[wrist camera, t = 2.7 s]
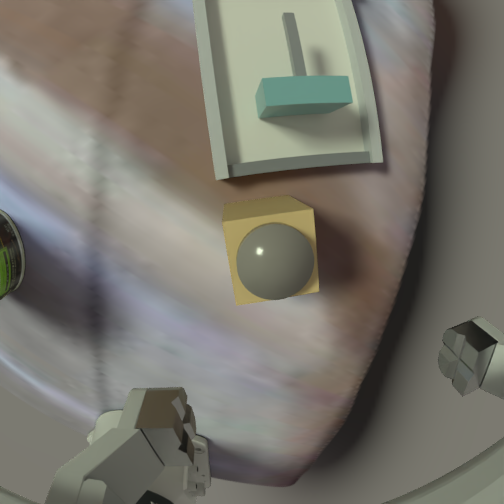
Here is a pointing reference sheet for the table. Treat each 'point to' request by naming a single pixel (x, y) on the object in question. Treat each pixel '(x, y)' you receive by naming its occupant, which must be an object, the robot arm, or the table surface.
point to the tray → (278, 65)
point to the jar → (270, 249)
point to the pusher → (300, 85)
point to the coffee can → (10, 256)
